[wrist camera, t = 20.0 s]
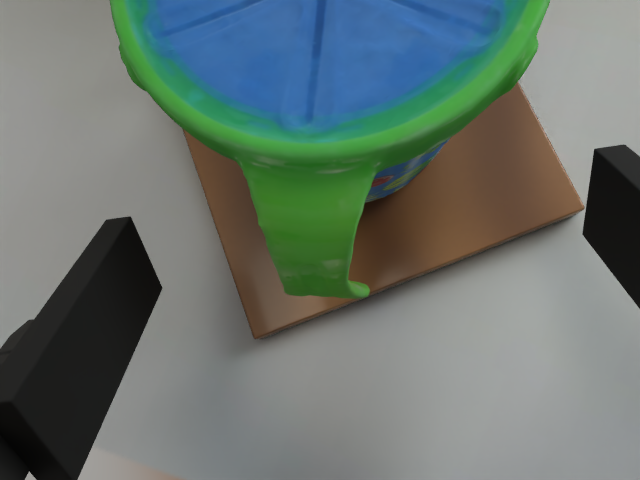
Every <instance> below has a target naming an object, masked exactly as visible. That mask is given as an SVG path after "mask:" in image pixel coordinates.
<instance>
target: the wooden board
mask: <svg viewBox="0 0 640 480" xmlns="http://www.w3.org/2000/svg"><path fill="white" fill-rule="evenodd" d="M182 129H183V128H182ZM183 132H184V134H185V137H186V140H187V143H188V146H189V149H190V152H191V155H192V158H193V161H194V164H195V167H196V170H197V173H198V176H199V179H200V181H201V184H202V187H203V190H204V193H205V196H206V199H207V202H208V205H209V208H210V211H211V214H212V217H213V220H214V223H215V226H216V229H217V231H218V234H219V237H220V240H221V243H222V246H223V249H224V252H225V255H226V258H227V261H228V264H229V267H230V270H231V273H232V276H233V278H234V281H235V284H236V287H237V290H238V293H239V296H240V299H241V302H242V305H243V308H244V311H245V314H246V317H247V320H248V323H249V326H250V328H251V331H252V334H253V337H254V339H263V338H265V337H268V336H270V335H273V334H275V333H278V332H280V331H283V330H285V329H288V328H290V327H293V326H295V325H298V324H300V323H303V322H306V321H308V320H311V319H313V318H316V317H318V316H321V315H323V314H326V313H328V312H331V311H333V310H336V309H338V308H341V307H343V306H346V305H349V304H351V303H354V302H356V301H359V300H361V299H364V298H358V299H349V298H338V297H320V296H312V295H309V296H294V295H288V294H286V293H285V292H284V287H283V284H282V283H281V280H280V278H279V274H278V272H277V270H276V268H275V265H274V263H273V261H272V258H271V256H270V253H269V250H268V247H267V244H266V238H265V236H264V233H263V231H262V229H261V227H260V226H259V224H258V216H257V212H256V209H255V207H254V204H253V201H252V198H251V194H250V189H249V186H248V183H247V179H246V178H245V176H244V174H243V170H242V169H241V167H240V166H239V165H238V163H237V162H236V161H234V160H231V159H229V158H227V157H224V156H222V155H220V154H219V153H217V152H215V151H214V150H212V149H210V148H209V147H207V146H205V145H204V144H203V143H201V142H200V141H199V140H197V139H196V138H194V137H193V136H192V135H190V134H189V133H188V132H186V131H185V130H184V129H183ZM583 209H584V205H583V203H582V201H581V200H580V198H579V196H578V194H577V192H576V190H575V188H574V186H573V184H572V183H571V181H570V179H569V177H568V175H567V173H566V171H565V169H564V167H563V166H562V164H561V162H560V160H559V158H558V156H557V154H556V152H555V150H554V149H553V147H552V145H551V143H550V141H549V139H548V137H547V135H546V134H545V132H544V130H543V128H542V126H541V124H540V122H539V120H538V118H537V117H536V115H535V113H534V111H533V109H532V107H531V105H530V103H529V101H528V100H527V98H526V96H525V94H524V92H523V90H522V88H521V86H520V85H519V83H518V82H517V83H516V85H515V86H514V87H513V88H512V89H511V90H510V91H509V92H507V93H505V94H504V95H502V96H501V97H499V98H498V99H496V100H495V101H494V102H492V103H491V104H490V105H489V106H488V107H487V108H486V109H485V110H484V111H483V112H482V113H480V114H479V115H478V116H477V117H476V118H475V119H473V120H472V121H471V122H470V123H469V124H468V125H466V126H465V127H464V128H463V129H462V130H461V131H460V132H458V133H457V134H455V135H454V136H452V137H451V138H450V139H449V141H448V142H447V143H445V144H444V146H443V147H442V149H441V150H440V151H439V153H438V154H437V155H436V156H435V157H434V159H433V160H432V161H431V162H430V163H429V165H428V166H427V167H426V168H425V169H424V170H423V171H422V172H421V173H420V174H418V175H417V176H416V177H415V178H414V179H413V180H412V181H410V182H409V183H408V184H407V185H405V186H404V187H402V188H401V189H399V190H398V191H396V192H394V193H392V194H389V195H387V196H385V197H383V198H379V199H376V200H374V201H370V202H366V203H364V208H363V212H362V215H361V217H360V220H359V223H358V226H357V231H356V235H355V239H354V244H353V254H352V259H351V263H350V267H349V274H348V280H350V281H354V282H360V283H363V284H366V285H367V286H368V287H369V289H370V292H369V295H368V297H369V296H371V295H374V294H376V293H379V292H381V291H384V290H386V289H389V288H392V287H394V286H397V285H399V284H402V283H404V282H407V281H409V280H412V279H414V278H417V277H419V276H422V275H424V274H427V273H429V272H432V271H435V270H437V269H440V268H442V267H445V266H447V265H450V264H452V263H455V262H457V261H460V260H462V259H465V258H467V257H470V256H472V255H475V254H478V253H480V252H483V251H485V250H488V249H490V248H493V247H495V246H498V245H500V244H503V243H505V242H508V241H510V240H513V239H515V238H518V237H521V236H523V235H526V234H528V233H531V232H533V231H536V230H538V229H541V228H543V227H546V226H548V225H551V224H553V223H556V222H558V221H561V220H563V219H566V218H569V217H571V216H574V215H576V214H577V213H579V212H580V211H582V210H583ZM365 298H366V297H365Z"/></svg>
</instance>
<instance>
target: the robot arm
mask: <svg viewBox="0 0 640 480" xmlns="http://www.w3.org/2000/svg"><path fill="white" fill-rule="evenodd" d="M582 235H583V236H584V237H585V238H586V240H587V241H588V242H589V244H590V245H591V246H592V247H593V249H594V250H595V251H596V253H597V254H598V255H599V257H600V258H601V259H602V260H603V262H604V263H605V264H606V266H607V267H608V268H609V270H610V271H611V272H612V273H613V275H614V276H615V277H616V279H617V280H618V281H619V282H620V284H621V285H622V286H623V288H624V289H625V290H626V292H627V293H628V294H629V295H630V297H631V298H632V299H633V301H634V302H635V303H636V304H637V306H638V307H639V308H640V157H639V156H638V155H637V154H636V153H634V152H633V151H632V150H631V149H629V148H628V147H627V146H626V145H618V146H611V147H604V148H598V149H594V155H593V163H592V170H591V177H590V184H589V191H588V198H587V206H586V213H585V220H584V227H583V234H582ZM161 290H162V286H161V284H160V281H159V279H158V277H157V275H156V272H155V270H154V268H153V266H152V263H151V261H150V259H149V257H148V254H147V252H146V250H145V248H144V245H143V243H142V241H141V239H140V236H139V234H138V232H137V230H136V227H135V225H134V223H133V221H132V218H131V216H130V217H123V218H116V219H109V220H106V221H105V222H104V224H103V225H102V226H101V228H100V229H99V231H98V232H97V233H96V235H95V236H94V238H93V239H92V240H91V242H90V243H89V244H88V246H87V247H86V249H85V250H84V251H83V253H82V254H81V256H80V257H79V258H78V260H77V261H76V262H75V264H74V265H73V267H72V268H71V269H70V271H69V272H68V274H67V275H66V276H65V278H64V279H63V280H62V282H61V283H60V285H59V286H58V287H57V289H56V290H55V292H54V293H53V294H52V296H51V297H50V299H49V300H48V301H47V303H46V304H45V305H44V307H43V308H42V310H41V311H40V312H39V314H38V315H37V317H36V318H35V319H34V320H28V321H27V322H26V323H25V324H24V325H22V326H21V327H20V328H19V329H18V330H16V331H15V332H14V333H13V334H12V335H10V337H9V338H8V339H7V341H6V342H5V343H4V345H3V346H2V347H1V349H0V480H25V478H26V476H27V474H28V472H29V471H30V473H31V474H32V475H33V476H34V477H35V478H36V479H37V480H77V479H78V477H79V475H80V472H81V470H82V468H83V465H84V464H85V461H86V459H87V457H88V454H89V452H90V450H91V448H92V446H93V443H94V441H95V439H96V437H97V434H98V432H99V430H100V428H101V425H102V423H103V421H104V419H105V416H106V414H107V412H108V410H109V407H110V405H111V403H112V401H113V398H114V396H115V394H116V392H117V389H118V387H119V385H120V383H121V380H122V378H123V376H124V374H125V371H126V369H127V367H128V365H129V362H130V360H131V358H132V356H133V353H134V351H135V349H136V347H137V344H138V342H139V340H140V337H141V335H142V333H143V331H144V328H145V326H146V324H147V322H148V319H149V317H150V315H151V313H152V310H153V308H154V306H155V304H156V301H157V299H158V297H159V295H160V292H161Z"/></svg>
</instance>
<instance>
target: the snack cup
mask: <svg viewBox="0 0 640 480" xmlns="http://www.w3.org/2000/svg"><path fill="white" fill-rule="evenodd" d="M549 3H550V0H110V5H111V11H112V17H113V21H114V25H115V29H116V33H117V35H118V38H119V41H120V45H119V50H120V54H121V58H122V61H123V63H124V64H125V66H126V68H127V71H128V74H129V76H130V77H131V79H132V80H133V82H134V83H135V84H136V85H137V86H139V87H140V88H141V89H143V90H144V91H147V92H148V93H149V94H150V96H151V97H152V98H153V99H154V101H155V102H156V103H157V104H158V105H159V106H160V107H161V108H162V109H163V111H164V112H165V113H166V114H167V115H168V116H169V117H170V118H171V119H172V120H174V121H175V122H176V123H177V124H178V125H179V126H180V127H182V128H183V129H184V130H185V131H186V132H188V133H189V134H190V135H192V136H193V137H194V138H196V139H197V140H199V141H200V142H201V143H203V144H204V145H205V146H207V147H209V148H210V149H212V150H214V151H215V152H217V153H219V154H220V155H222V156H224V157H227V158H229V159H231V160H234V161H236V162H237V163H238V165H239V166H240V167H241V169H242V170H243V174H244V176H245V178H246V179H247V183H248V186H249V189H250V194H251V198H252V201H253V204H254V207H255V209H256V212H257V216H258V224H259V226H260V227H261V229H262V231H263V233H264V236H265V238H266V244H267V247H268V250H269V253H270V256H271V258H272V261H273V263H274V265H275V268H276V270H277V272H278V274H279V278H280V280H281V283H282V284H283V287H284V292H285V293H286V294H288V295H294V296H309V295H312V296H320V297H338V298H349V299H358V298H365V297H368V295H369V292H370V289H369V287H368V286H367V285H366V284H363V283H360V282H354V281H350V280H348V274H349V267H350V263H351V259H352V254H353V244H354V239H355V235H356V231H357V226H358V223H359V220H360V217H361V215H362V212H363V208H364V203H366V202H370V201H374V200H376V199H379V198H383V197H385V196H387V195H389V194H392V193H394V192H396V191H398V190H399V189H401V188H402V187H404V186H405V185H407V184H408V183H409V182H410V181H412V180H413V179H414V178H415V177H416V176H417V175H418V174H420V173H421V172H422V171H423V170H424V169H425V168H426V167H427V166H428V165H429V163H430V162H431V161H432V160H433V159H434V157H435V156H436V155H437V154H438V153H439V151H440V150H441V149H442V147H443V146H444V144H445V143H447V142H448V141H449V139H450V138H451V137H452V136H454V135H455V134H457V133H458V132H460V131H461V130H462V129H463V128H464V127H465V126H466V125H468V124H469V123H470V122H471V121H472V120H473V119H475V118H476V117H477V116H478V115H479V114H480V113H482V112H483V111H484V110H485V109H486V108H487V107H488V106H489V105H490V104H491V103H492V102H494V101H495V100H496V99H498V98H499V97H501V96H502V95H504V94H505V93H507V92H509V91H510V90H511V89H512V88H513V87H514V86H515V85H516V83H517V82H518V80H519V79H520V78H521V76H522V75H523V73H524V72H525V71H526V69H527V67H528V66H529V64H530V62H531V60H532V59H533V57H534V55H535V53H536V52H537V48H538V41H537V37H536V35H537V32H538V30H539V28H540V25H541V23H542V20H543V18H544V15H545V13H546V10H547V8H548V6H549Z"/></svg>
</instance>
